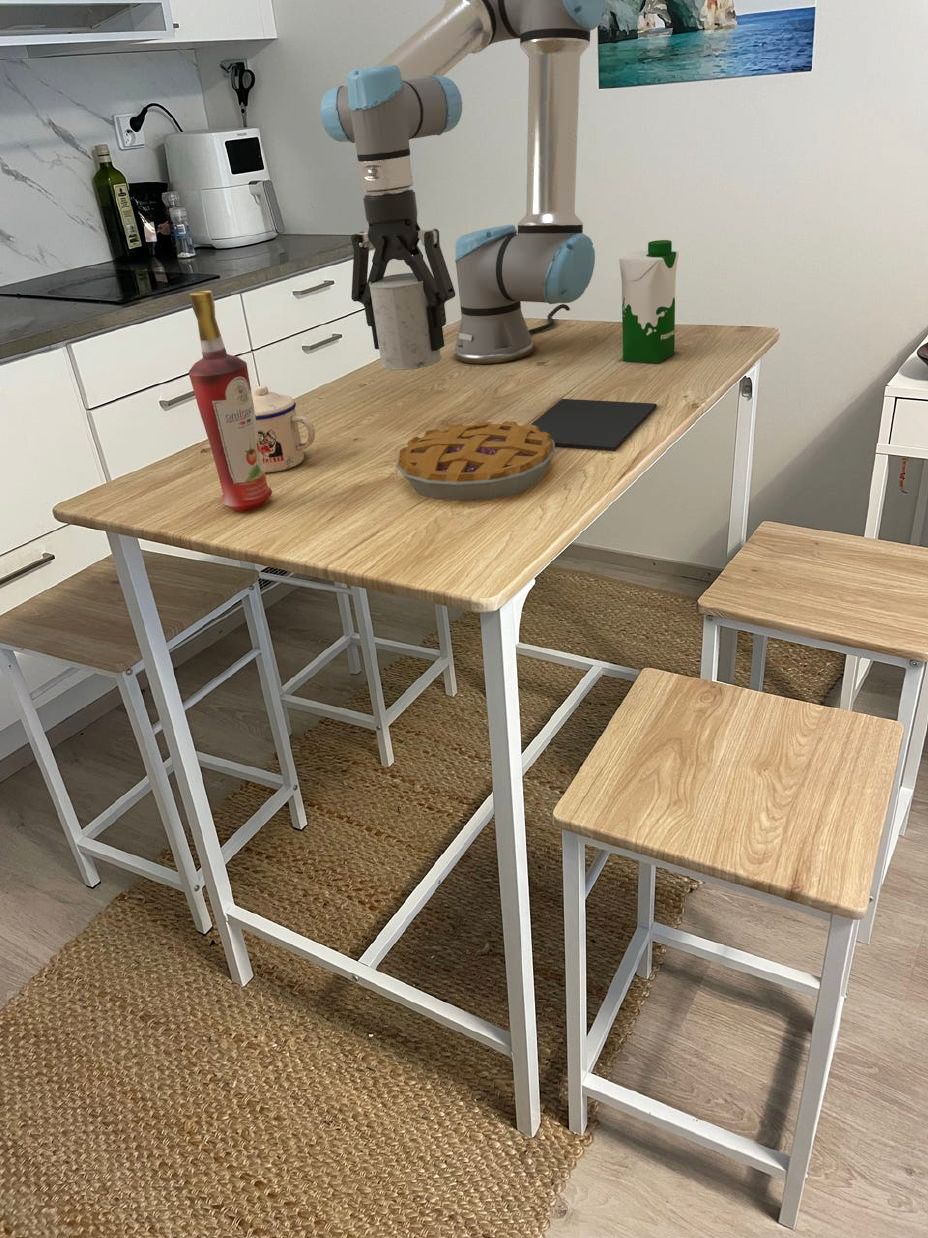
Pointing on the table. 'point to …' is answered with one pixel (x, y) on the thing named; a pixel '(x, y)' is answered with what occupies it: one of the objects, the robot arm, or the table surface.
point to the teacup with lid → (279, 430)
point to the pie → (476, 460)
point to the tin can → (402, 323)
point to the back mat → (592, 422)
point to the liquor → (227, 413)
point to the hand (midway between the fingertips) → (409, 347)
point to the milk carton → (649, 303)
